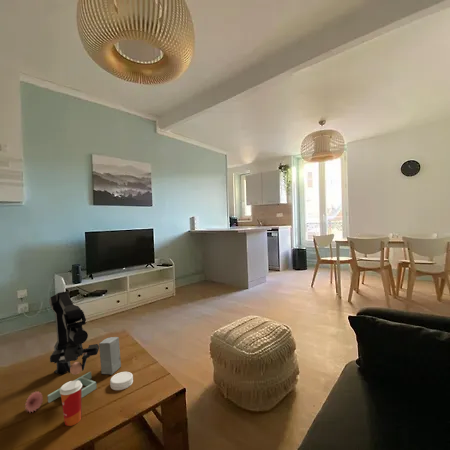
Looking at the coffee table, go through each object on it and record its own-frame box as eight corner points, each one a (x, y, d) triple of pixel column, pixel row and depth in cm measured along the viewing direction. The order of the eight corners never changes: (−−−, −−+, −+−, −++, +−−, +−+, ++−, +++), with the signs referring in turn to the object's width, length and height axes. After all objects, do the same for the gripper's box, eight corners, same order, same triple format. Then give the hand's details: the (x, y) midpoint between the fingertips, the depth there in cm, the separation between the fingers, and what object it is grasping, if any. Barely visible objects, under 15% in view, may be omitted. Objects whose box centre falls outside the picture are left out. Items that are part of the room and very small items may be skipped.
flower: (41, 386, 120) (32, 386, 115) (52, 398, 117) (43, 398, 112) (27, 405, 117) (16, 405, 112) (37, 417, 114) (27, 418, 109)
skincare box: (112, 375, 137) (110, 343, 136) (99, 374, 138) (97, 343, 138) (122, 366, 145) (120, 336, 145) (109, 365, 146) (108, 335, 146)
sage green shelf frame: (47, 402, 118) (47, 395, 118) (90, 377, 136) (89, 371, 136) (63, 409, 113) (62, 402, 113) (105, 383, 130) (104, 376, 130)
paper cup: (67, 414, 110) (65, 380, 109) (87, 412, 110) (85, 378, 110) (57, 429, 102) (55, 392, 102) (78, 427, 103) (76, 390, 102)
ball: (71, 371, 126) (71, 361, 126) (83, 369, 127) (83, 358, 127) (68, 377, 121) (68, 366, 121) (81, 375, 122) (80, 364, 122)
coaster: (137, 380, 131) (137, 373, 131) (121, 393, 122) (121, 385, 122) (122, 376, 136) (121, 369, 136) (105, 388, 127) (105, 380, 127)
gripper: (44, 348, 113) (46, 386, 114) (93, 341, 118) (95, 376, 119) (53, 337, 124) (55, 372, 124) (98, 331, 129) (100, 364, 130)
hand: (76, 371), depth 124 cm, fingers closed on ball, 5 cm apart
